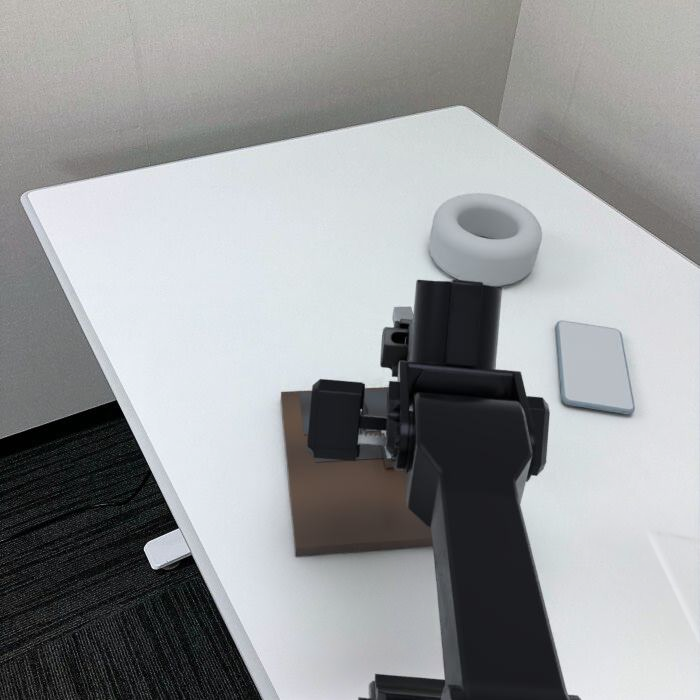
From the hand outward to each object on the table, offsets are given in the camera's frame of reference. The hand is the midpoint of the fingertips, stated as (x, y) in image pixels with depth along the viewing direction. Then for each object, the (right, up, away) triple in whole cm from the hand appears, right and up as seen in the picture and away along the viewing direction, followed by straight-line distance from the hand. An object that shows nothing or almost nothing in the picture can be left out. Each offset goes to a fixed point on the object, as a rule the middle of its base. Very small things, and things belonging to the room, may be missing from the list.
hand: (415, 420), depth 70 cm
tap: (-1, -2, +13) cm, 13 cm away
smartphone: (+23, +4, +25) cm, 34 cm away
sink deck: (-2, -6, +11) cm, 13 cm away
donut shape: (+13, +19, +40) cm, 46 cm away
